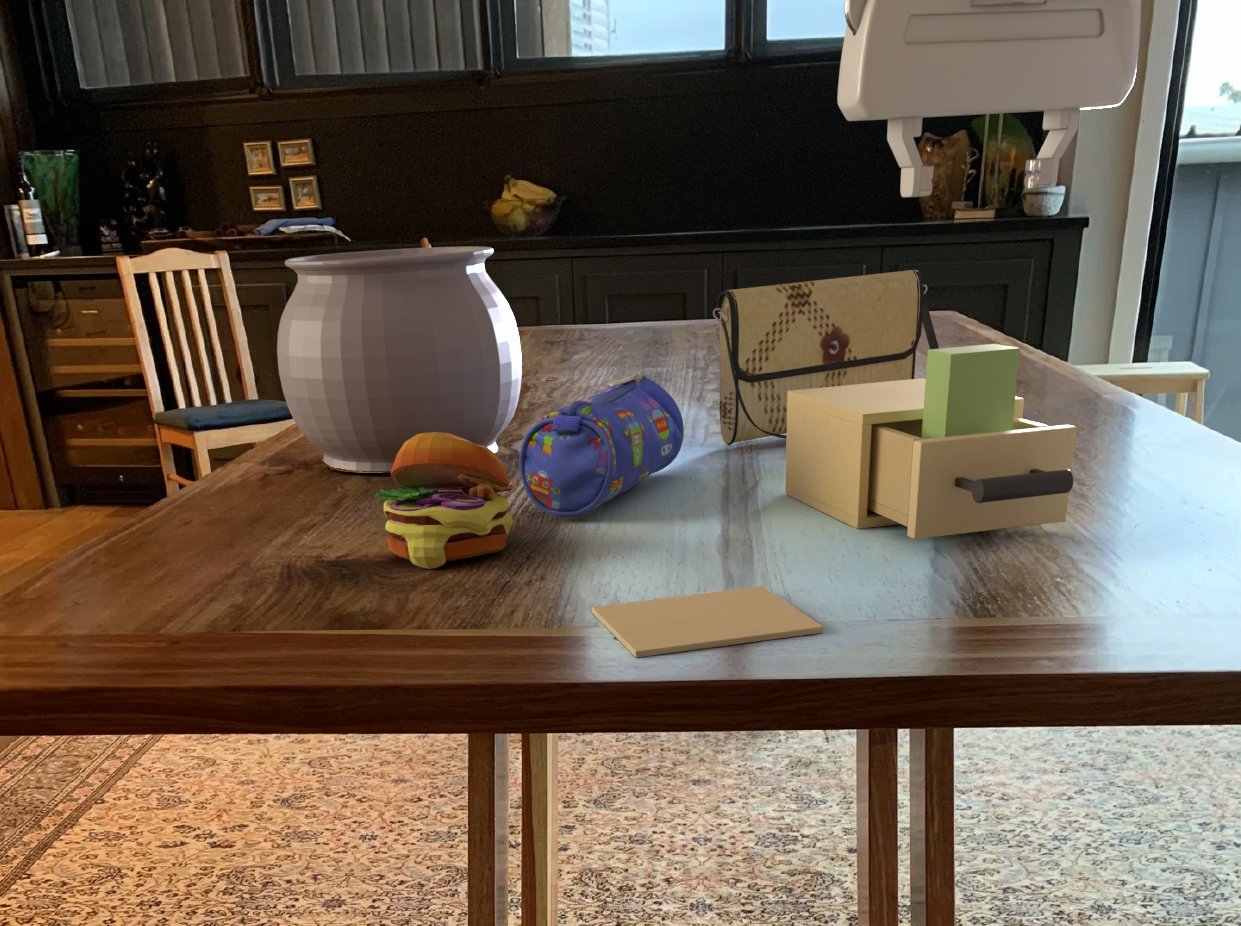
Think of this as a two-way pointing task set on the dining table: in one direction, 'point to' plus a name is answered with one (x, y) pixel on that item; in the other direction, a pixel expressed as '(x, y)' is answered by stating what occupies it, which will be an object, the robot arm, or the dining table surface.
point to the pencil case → (600, 446)
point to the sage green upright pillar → (969, 390)
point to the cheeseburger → (446, 501)
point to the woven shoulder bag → (813, 343)
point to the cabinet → (845, 443)
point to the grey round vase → (397, 352)
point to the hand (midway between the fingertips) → (978, 192)
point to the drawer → (970, 477)
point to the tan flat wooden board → (703, 621)
